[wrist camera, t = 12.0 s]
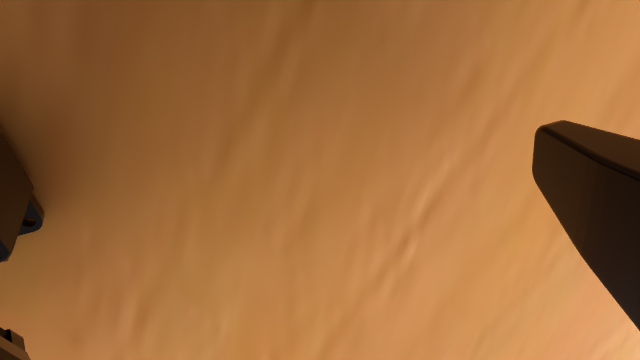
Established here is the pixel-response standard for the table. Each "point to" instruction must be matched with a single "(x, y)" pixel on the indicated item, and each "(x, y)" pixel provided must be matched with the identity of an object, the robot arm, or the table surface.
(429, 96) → the table surface
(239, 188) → the table surface
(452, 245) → the table surface
